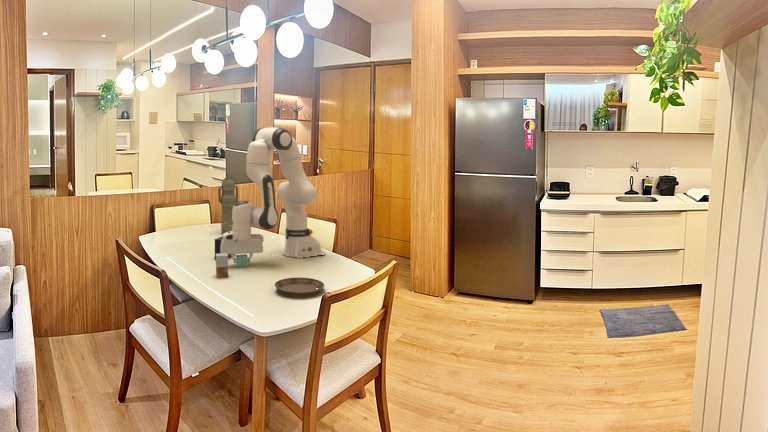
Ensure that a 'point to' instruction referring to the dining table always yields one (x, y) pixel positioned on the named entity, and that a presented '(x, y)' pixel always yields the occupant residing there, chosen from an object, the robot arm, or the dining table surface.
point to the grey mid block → (222, 260)
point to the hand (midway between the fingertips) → (241, 262)
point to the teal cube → (242, 260)
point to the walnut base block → (221, 272)
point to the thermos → (227, 203)
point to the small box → (217, 246)
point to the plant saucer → (299, 287)
